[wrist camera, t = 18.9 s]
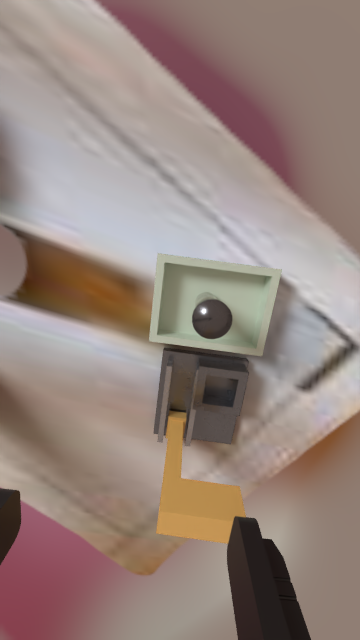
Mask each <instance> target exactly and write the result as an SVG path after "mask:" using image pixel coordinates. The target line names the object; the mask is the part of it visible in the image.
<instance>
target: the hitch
mask: <svg viewBox="0 0 360 640" xmlns="http://www.w3.org/2000/svg"><path fill="white" fill-rule="evenodd" d="M247 366H248V360H247V359H245V358H238V357H231V356H223V355H216V354H208V353H201V352H194V351H186V350H179V349H171V348H164V350H163V357H162V366H161V374H160V383H159V391H158V400H157V408H156V417H155V425H154V434H158V441H157V442H161V443H162V442H163V435H166V431H167V423H168V416H169V411H176V412H184V413H186V424H185V431H184V437H183V438H185V446H190V443H191V439H197V440H204V441H211V442H219V443H226V444H231V440H232V436H233V431H234V427H235V422H236V417H237V416H240V411H241V407H242V402H243V397H244V393H245V388H246V384H247V379H248V375H249V372H248V370H247Z"/></svg>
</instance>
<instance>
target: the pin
mask: <svg viewBox="0 0 360 640" xmlns="http://www.w3.org/2000/svg"><path fill="white" fill-rule="evenodd" d="M192 324H193V327H194V329H195V331H196V332H197V333H198V334H199V335H200V336H202V337H204V338H206V339H217V338H220V337H222V336H224V335H225V334H226V333H227V332H228V331H229V330H230V328H231V325H232V313H231V311H230V309H229V308H228V306H227V305H226V304H225V303H224V302H222V301H220V300H217V298H216V297H215V296H214V295H213V294H212V293H210V292H203V293H201V294H199V295H198V296H197V298H196V300H195V309H194V311H193V314H192Z"/></svg>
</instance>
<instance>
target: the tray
mask: <svg viewBox="0 0 360 640" xmlns="http://www.w3.org/2000/svg"><path fill="white" fill-rule="evenodd" d="M281 272H282V270H280V269H273V268H265V267H257V266H250V265H242V264H235V263H227V262H219V261H212V260H204V259H197V258H189V257H181V256H174V255H166V254H159V253H158V256H157V266H156V276H155V286H154V296H153V306H152V316H151V326H150V336H149V341H152V342H159V343H167V344H174V345H182V346H189V347H196V348H204V349H211V350H219V351H226V352H233V353H241V354H248V355H256V356H262V354H263V350H264V346H265V341H266V337H267V333H268V328H269V324H270V320H271V315H272V311H273V307H274V302H275V298H276V294H277V289H278V285H279V280H280V276H281ZM203 292H210V293H212V294H213V295H214V296H215V297H216V298H217V300H220V301H222V302H224V303H225V304H226V305H227V306H228V308H229V309H230V311H231V313H232V325H231V328H230V330H229V331H228V332H227V333H226V334H225V335H224V336H222V337H220V338H217V339H206V338H204V337H202V336H200V335H199V334H198V333H197V332H196V331H195V329H194V327H193V324H192V314H193V311H194V309H195V300H196V298H197V296H198V295H199V294H201V293H203Z"/></svg>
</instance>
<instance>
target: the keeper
mask: <svg viewBox="0 0 360 640" xmlns="http://www.w3.org/2000/svg"><path fill="white" fill-rule="evenodd" d="M185 424H186V413H184V412H176V411H169V416H168V423H167V431H166V438H168V443H167V451H166V459H165V467H164V475H163V483H162V491H161V499H160V507H159V515H158V523H157V531H156V533H157V534H164V535H171V536H178V537H185V538H192V539H200V540H206V541H213V542H220V543H227V544H228V542H229V537H230V533H231V529H232V525H233V520H234V517H235V516H239V517H246V515H245V510H244V506H243V501H242V496H241V491H240V487H239V486H232V485H225V484H218V483H211V482H204V481H197V480H189V479H182V478H181V463H182V441H183V437H184V431H185Z"/></svg>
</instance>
